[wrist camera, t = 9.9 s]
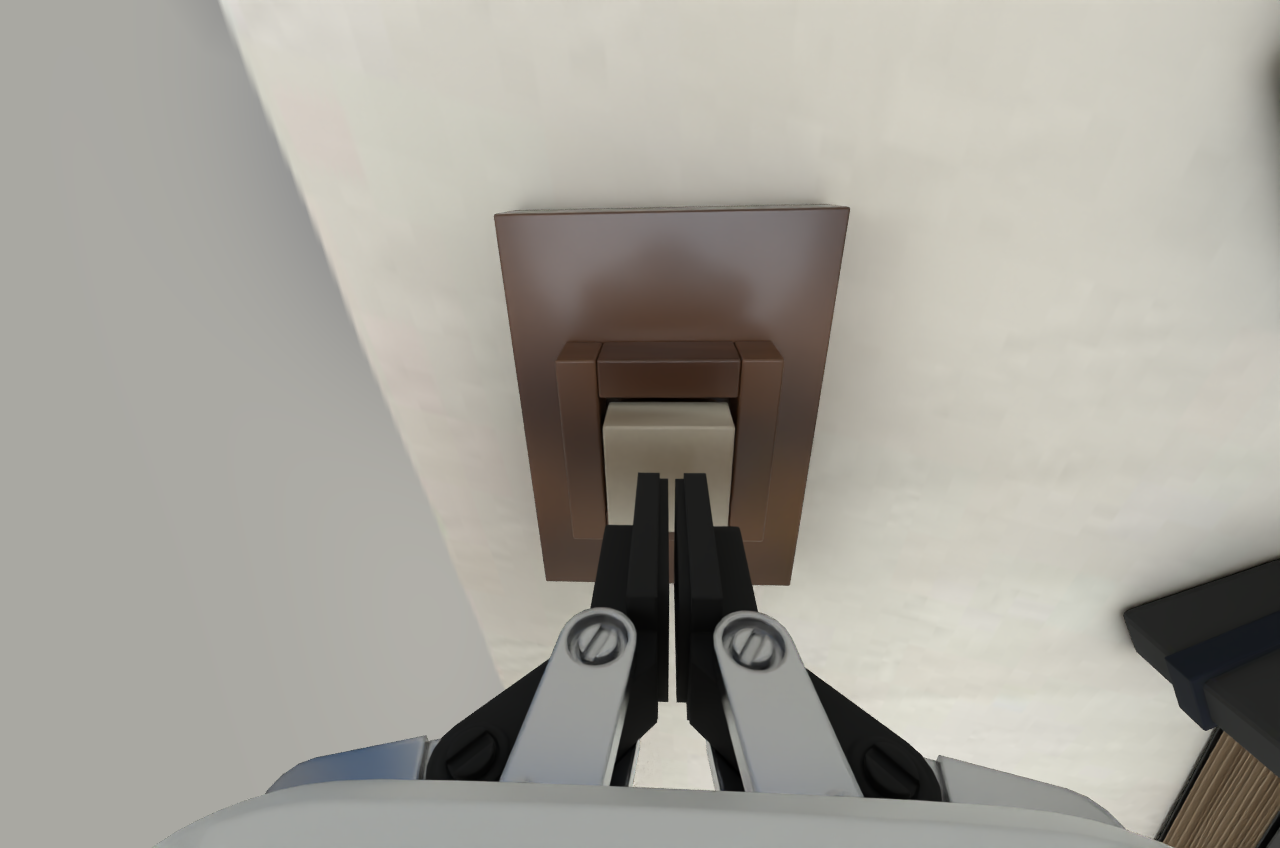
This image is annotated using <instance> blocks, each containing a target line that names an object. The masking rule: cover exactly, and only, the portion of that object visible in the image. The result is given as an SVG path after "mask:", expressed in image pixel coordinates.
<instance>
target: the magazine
mask: <svg viewBox="0 0 1280 848" xmlns="http://www.w3.org/2000/svg"><path fill="white" fill-rule="evenodd" d="M1123 616H1124V619H1125V622H1126V624H1127V627H1128V630H1129V633H1130V636H1131V639H1132V642H1133V645H1134V647H1135V649H1136V652H1138V653H1139V654H1140V655H1141V656H1142V657H1143V658H1144V659H1145V660H1146V661H1147V662H1148V663H1150V664H1151V665H1152V666H1153V667H1154V668H1155V669H1156V670H1157V671H1158V672H1159V673H1160V674H1162V675H1163V676H1164V677H1165V678H1166V679H1167V680H1168V681H1169V682H1170V683H1171V684H1173V688H1174V691H1175V694H1176V697H1177V700H1178V703H1179V707H1180V708H1181V709H1182V710H1183V711H1184V712H1185V713H1186V714H1187V715H1188V716H1189V717H1190V718H1192V719H1193V720H1194V721H1195V722H1196V723H1197V724H1198V725H1199V726H1200V727H1201V728H1202V729H1203V730H1205V731H1207V730H1209V729H1212V728H1214V727H1216V726H1219V727H1220V728H1221V729H1222V730H1224V731H1225V732H1226V733H1227V734H1228V735H1229V736H1231V737H1232V738H1233V739H1234V740H1235V741H1236V742H1238V743H1239V744H1240V745H1241V746H1242V747H1244V748H1245V749H1246V750H1247V751H1248V752H1249V753H1251V754H1252V755H1253V756H1254V757H1255V758H1256V759H1258V760H1259V761H1260V762H1261V763H1262V764H1263V765H1265V766H1266V767H1267V768H1268V769H1269V770H1271V771H1272V772H1273V773H1274V774H1275V775H1276V776H1278V777H1279V778H1280V559H1279V560H1276V561H1273V562H1270V563H1267V564H1264V565H1261V566H1258V567H1255V568H1252V569H1249V570H1246V571H1243V572H1240V573H1237V574H1234V575H1231V576H1228V577H1225V578H1222V579H1219V580H1216V581H1213V582H1210V583H1207V584H1205V585H1202V586H1199V587H1196V588H1193V589H1190V590H1187V591H1184V592H1181V593H1178V594H1175V595H1172V596H1169V597H1166V598H1163V599H1160V600H1157V601H1154V602H1151V603H1148V604H1145V605H1142V606H1139V607H1136V608H1133V609H1130V610H1128V611H1127V612H1125V613H1124V615H1123Z"/></svg>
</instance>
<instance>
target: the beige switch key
mask: <svg viewBox="0 0 1280 848" xmlns="http://www.w3.org/2000/svg"><path fill="white" fill-rule="evenodd" d="M734 436H735V427H734V423H733V420H732V416H731V413H730V409H729V406H728V403H726V402H610V403H609V405H608V409H607V413H606V417H605V421H604V425H603V443H604V459H605V476H606V492H607V508H608V524H609V525H633V519H634V509H635V498H636V488H637V477H638V472H640V473H660V478H663V479H668V508H669V532H674V523H675V479H683V477H684V473H706V477H707V484H708V491H709V498H710V506H711V513H712V520H713V526H728V515H729V502H730V489H731V476H732V463H733V450H734Z"/></svg>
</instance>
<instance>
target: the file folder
mask: <svg viewBox="0 0 1280 848" xmlns="http://www.w3.org/2000/svg"><path fill="white" fill-rule="evenodd" d="M1158 841H1159V842H1162V843H1164V844H1167V845H1169V846H1171V847H1174V848H1280V778H1279V777H1278V776H1276V775H1275V774H1274V773H1273V772H1272V771H1271V770H1269V769H1268V768H1267V767H1266V766H1265V765H1263V764H1262V763H1261V762H1260V761H1259V760H1258V759H1256V758H1255V757H1254V756H1253V755H1252V754H1251V753H1249V752H1248V751H1247V750H1246V749H1245V748H1244V747H1242V746H1241V745H1240V744H1239V743H1238V742H1236V741H1235V740H1234V739H1233V738H1232V737H1231V736H1229V735H1228V734H1227V733H1226V732H1225V731H1224V730H1222V729H1221V728H1220V727H1219V726H1218V728H1217V730H1216V732H1215V734H1214V736H1213V738H1212V739H1211V741H1210V743H1209V745H1208V747H1207V749H1206V751H1205V753H1204V755H1203V757H1202V758H1201V760H1200V762H1199V764H1198V766H1197V768H1196V770H1195V772H1194V774H1193V776H1192V777H1191V779H1190V781H1189V783H1188V785H1187V787H1186V789H1185V791H1184V793H1183V794H1182V796H1181V798H1180V800H1179V802H1178V804H1177V806H1176V808H1175V810H1174V811H1173V813H1172V815H1171V817H1170V819H1169V821H1168V823H1167V825H1166V827H1165V828H1164V830H1163V832H1162V834H1161V836H1160V838H1159V840H1158Z"/></svg>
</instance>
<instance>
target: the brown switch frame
mask: <svg viewBox="0 0 1280 848" xmlns="http://www.w3.org/2000/svg"><path fill="white" fill-rule="evenodd" d="M849 213H850V207H846V206H837V205H829V204H803V205H754V206H705V207H656V208H607V209H558V210H515V211H509V212H504V213H498V214H495V215H494V220H495V227H496V234H497V241H498V248H499V255H500V262H501V269H502V276H503V283H504V290H505V297H506V304H507V311H508V318H509V325H510V332H511V339H512V346H513V353H514V360H515V367H516V373H517V380H518V387H519V394H520V401H521V408H522V415H523V422H524V429H525V436H526V443H527V450H528V457H529V464H530V471H531V478H532V485H533V492H534V499H535V506H536V513H537V520H538V527H539V534H540V541H541V548H542V554H543V561H544V568H545V575H546V581H570V582H595V580H596V574H597V569H598V563H599V557H600V552H601V546H602V540H603V535H604V529H605V526H606V525H609V524H608V508H607V492H606V476H605V459H604V443H603V425H604V421H605V417H606V413H607V409H608V405H609V403H610V402H726V403H728V406H729V409H730V413H731V416H732V420H733V423H734V427H735V436H734V450H733V463H732V476H731V489H730V502H729V515H728V526H734V527H739V528H740V531H741V535H742V540H743V545H744V549H745V554H746V559H747V563H748V568H749V573H750V577H751V582H752V585H785V586H789V585H790V581H791V575H792V569H793V563H794V556H795V550H796V544H797V538H798V531H799V525H800V519H801V513H802V506H803V500H804V494H805V488H806V481H807V475H808V469H809V463H810V456H811V450H812V444H813V438H814V431H815V425H816V419H817V413H818V406H819V400H820V394H821V388H822V381H823V375H824V369H825V363H826V356H827V350H828V344H829V338H830V331H831V325H832V319H833V313H834V306H835V300H836V294H837V288H838V281H839V275H840V269H841V263H842V256H843V250H844V244H845V238H846V231H847V225H848V219H849ZM669 583H674V532H669Z"/></svg>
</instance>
